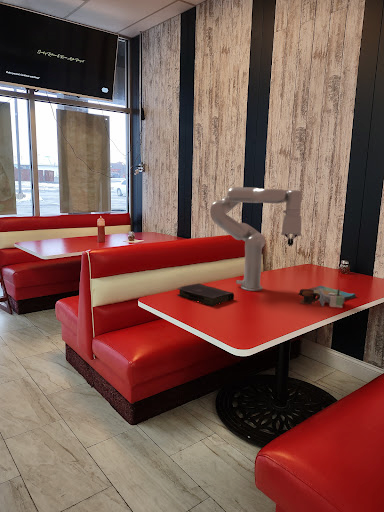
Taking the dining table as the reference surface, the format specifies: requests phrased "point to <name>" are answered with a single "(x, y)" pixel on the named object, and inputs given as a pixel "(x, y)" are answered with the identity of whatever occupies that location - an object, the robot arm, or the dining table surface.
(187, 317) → the dining table surface
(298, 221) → the robot arm
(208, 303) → the diary
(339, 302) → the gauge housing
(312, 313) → the dining table surface
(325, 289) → the dish towel
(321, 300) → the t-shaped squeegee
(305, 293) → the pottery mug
